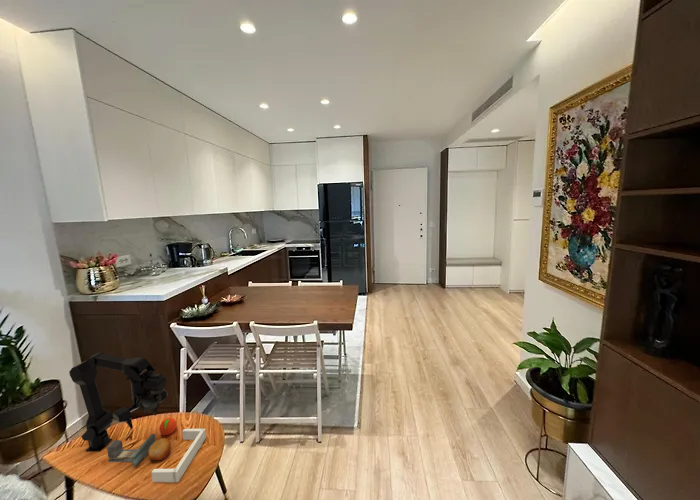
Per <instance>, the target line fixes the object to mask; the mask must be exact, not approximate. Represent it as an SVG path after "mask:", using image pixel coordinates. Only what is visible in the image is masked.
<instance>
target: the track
mask: <svg viewBox="0 0 700 500" xmlns="http://www.w3.org/2000/svg"><path fill="white" fill-rule="evenodd" d="M138 449H139V448H137V449H135V448H134V449H133V448H132V449H131V448H130V449H123V451H137V450H138ZM107 462H108V463H133V462H132V459H108V461H107Z"/></svg>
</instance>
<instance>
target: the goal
mask: <svg viewBox="0 0 700 500" xmlns="http://www.w3.org/2000/svg"><path fill="white" fill-rule="evenodd" d="M206 439H207V431H206V428H184V429H183V430H182V440H183V441H185V440H187V441H189V440H192V441H193V442H192V443H191V444H190V446H189V448H188V449H187V451H186V452H185V454H184V455H183V456H182V458H181V459H180V461H179V463H178V464H177V466H176V467H175V468H154V469H153V470H152V471H151V480H152V483H179V482H180V480H181V479H182V476H183V475H184V474H185V472H186V470H187V469H188V467H189V466H190V464H191V462H192V461H193V459H194V458H195V456H196V455H197V453H198V452H199V450H200V448H201V447H202V445H203V444H204V442H205V440H206Z"/></svg>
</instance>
